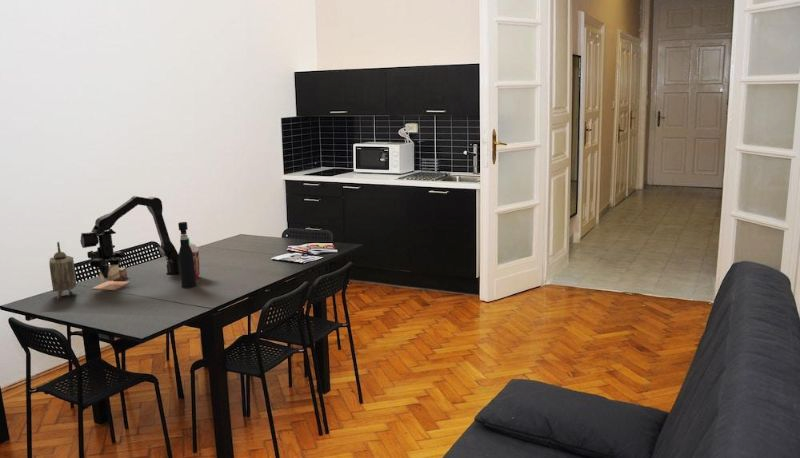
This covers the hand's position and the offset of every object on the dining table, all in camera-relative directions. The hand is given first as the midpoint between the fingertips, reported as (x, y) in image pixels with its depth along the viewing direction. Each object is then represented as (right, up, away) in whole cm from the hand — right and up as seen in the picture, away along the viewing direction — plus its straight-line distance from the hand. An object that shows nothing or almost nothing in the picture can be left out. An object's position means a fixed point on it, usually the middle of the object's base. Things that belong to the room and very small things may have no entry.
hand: (110, 276), depth 327 cm
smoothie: (+36, -2, +10) cm, 37 cm away
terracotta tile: (0, -5, +1) cm, 5 cm away
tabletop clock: (-14, -8, -13) cm, 21 cm away
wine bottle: (+39, -4, -5) cm, 39 cm away
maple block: (0, -1, 0) cm, 1 cm away
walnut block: (-1, -2, +14) cm, 14 cm away
